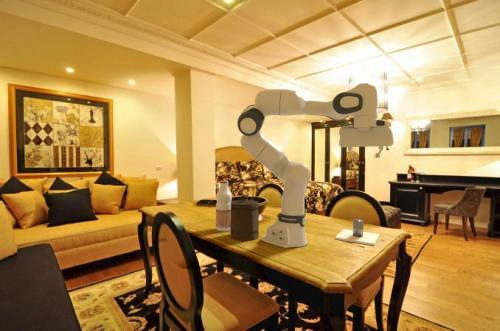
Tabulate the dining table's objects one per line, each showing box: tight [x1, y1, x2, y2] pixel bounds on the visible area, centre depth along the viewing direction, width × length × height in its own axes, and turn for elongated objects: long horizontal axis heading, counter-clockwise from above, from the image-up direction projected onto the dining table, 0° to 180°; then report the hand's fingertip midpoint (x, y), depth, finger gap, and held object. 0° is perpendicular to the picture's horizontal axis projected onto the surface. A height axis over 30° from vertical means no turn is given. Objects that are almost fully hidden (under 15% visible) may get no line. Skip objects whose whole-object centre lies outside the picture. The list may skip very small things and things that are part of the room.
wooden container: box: [229, 194, 260, 242], centre depth 131 cm, size 15×15×22 cm
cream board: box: [334, 228, 380, 246], centre depth 130 cm, size 18×18×1 cm
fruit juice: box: [215, 180, 233, 232], centre depth 144 cm, size 9×9×28 cm
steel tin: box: [352, 218, 365, 237], centre depth 130 cm, size 5×5×8 cm
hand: (365, 157), depth 103 cm, fingers open, 8 cm apart
